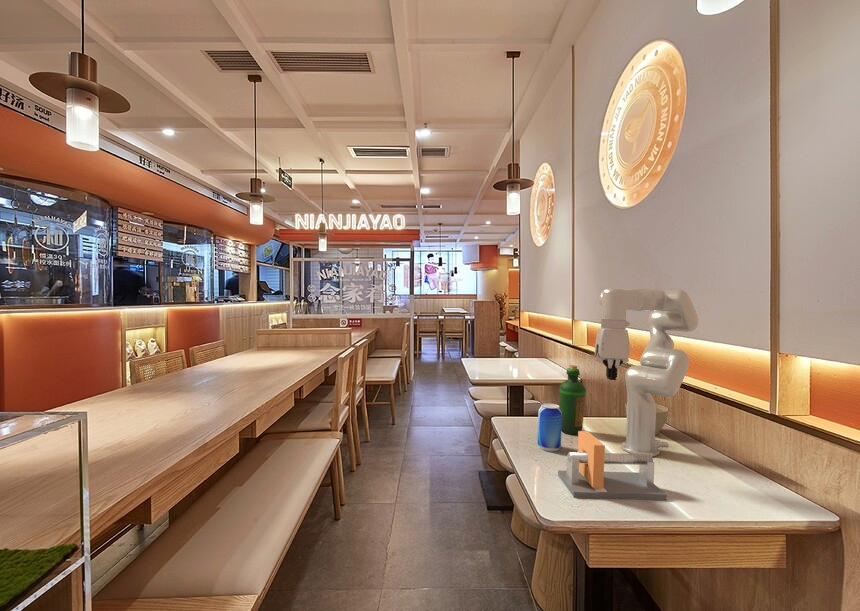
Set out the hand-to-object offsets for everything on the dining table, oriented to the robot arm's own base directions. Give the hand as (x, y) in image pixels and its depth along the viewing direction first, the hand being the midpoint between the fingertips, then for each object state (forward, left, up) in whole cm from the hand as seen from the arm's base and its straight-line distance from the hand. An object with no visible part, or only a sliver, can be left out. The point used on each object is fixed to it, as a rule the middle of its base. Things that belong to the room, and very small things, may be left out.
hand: (611, 379), depth 134 cm
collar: (+13, +16, -27) cm, 34 cm away
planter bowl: (-32, -36, -29) cm, 56 cm away
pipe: (+7, +16, -28) cm, 33 cm away
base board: (+7, +16, -29) cm, 34 cm away
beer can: (+16, -14, -29) cm, 36 cm away
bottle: (+1, -33, -29) cm, 44 cm away
